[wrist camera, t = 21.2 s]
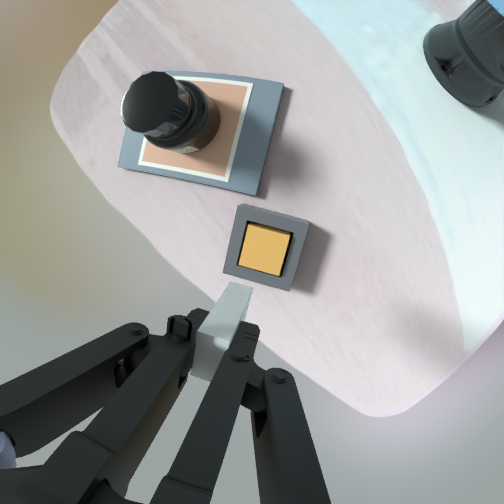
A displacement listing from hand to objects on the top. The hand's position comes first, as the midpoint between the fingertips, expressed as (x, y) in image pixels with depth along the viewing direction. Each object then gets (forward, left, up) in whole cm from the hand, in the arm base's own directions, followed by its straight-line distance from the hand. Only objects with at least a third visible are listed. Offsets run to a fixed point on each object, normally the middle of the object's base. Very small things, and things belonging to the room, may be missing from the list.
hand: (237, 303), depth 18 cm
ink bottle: (+14, -14, -19) cm, 28 cm away
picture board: (+14, -14, -20) cm, 28 cm away
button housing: (0, 0, -20) cm, 20 cm away
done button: (0, 0, -20) cm, 20 cm away
